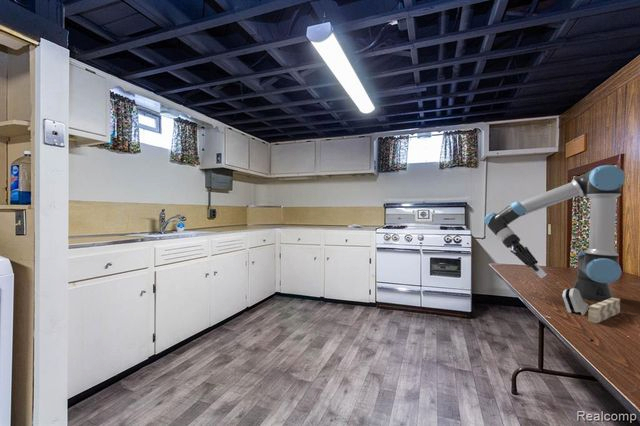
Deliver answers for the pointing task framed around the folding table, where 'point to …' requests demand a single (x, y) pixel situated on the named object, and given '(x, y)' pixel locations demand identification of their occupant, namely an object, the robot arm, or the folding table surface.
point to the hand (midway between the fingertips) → (543, 276)
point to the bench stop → (603, 310)
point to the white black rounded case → (574, 301)
